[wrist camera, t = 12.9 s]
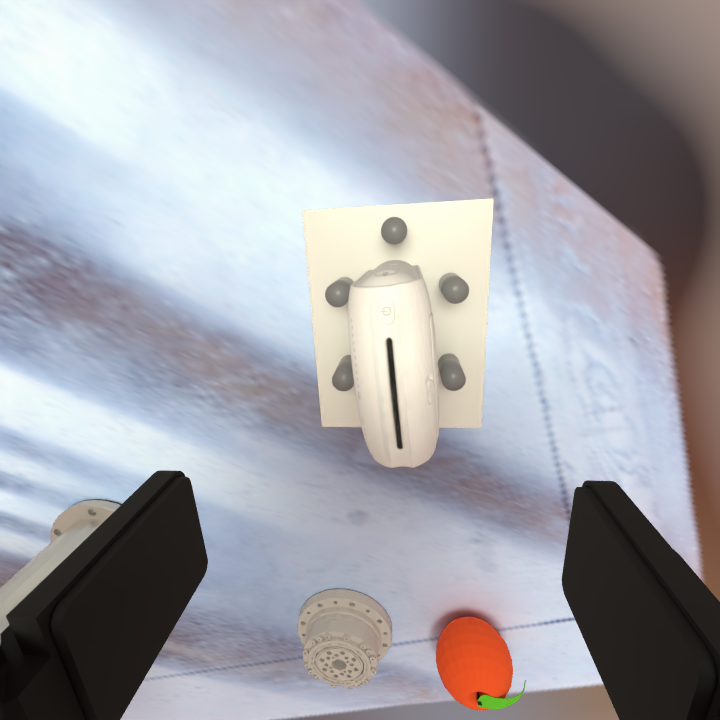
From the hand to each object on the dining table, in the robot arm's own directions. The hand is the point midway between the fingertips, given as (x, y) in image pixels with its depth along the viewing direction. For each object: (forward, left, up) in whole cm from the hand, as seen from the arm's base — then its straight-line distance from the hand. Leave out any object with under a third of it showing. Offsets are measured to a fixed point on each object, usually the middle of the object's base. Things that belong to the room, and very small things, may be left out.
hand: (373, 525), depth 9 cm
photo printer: (0, 0, -21) cm, 21 cm away
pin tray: (0, 0, -22) cm, 22 cm away
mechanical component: (-33, +6, -23) cm, 40 cm away
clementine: (-32, -7, -22) cm, 40 cm away
